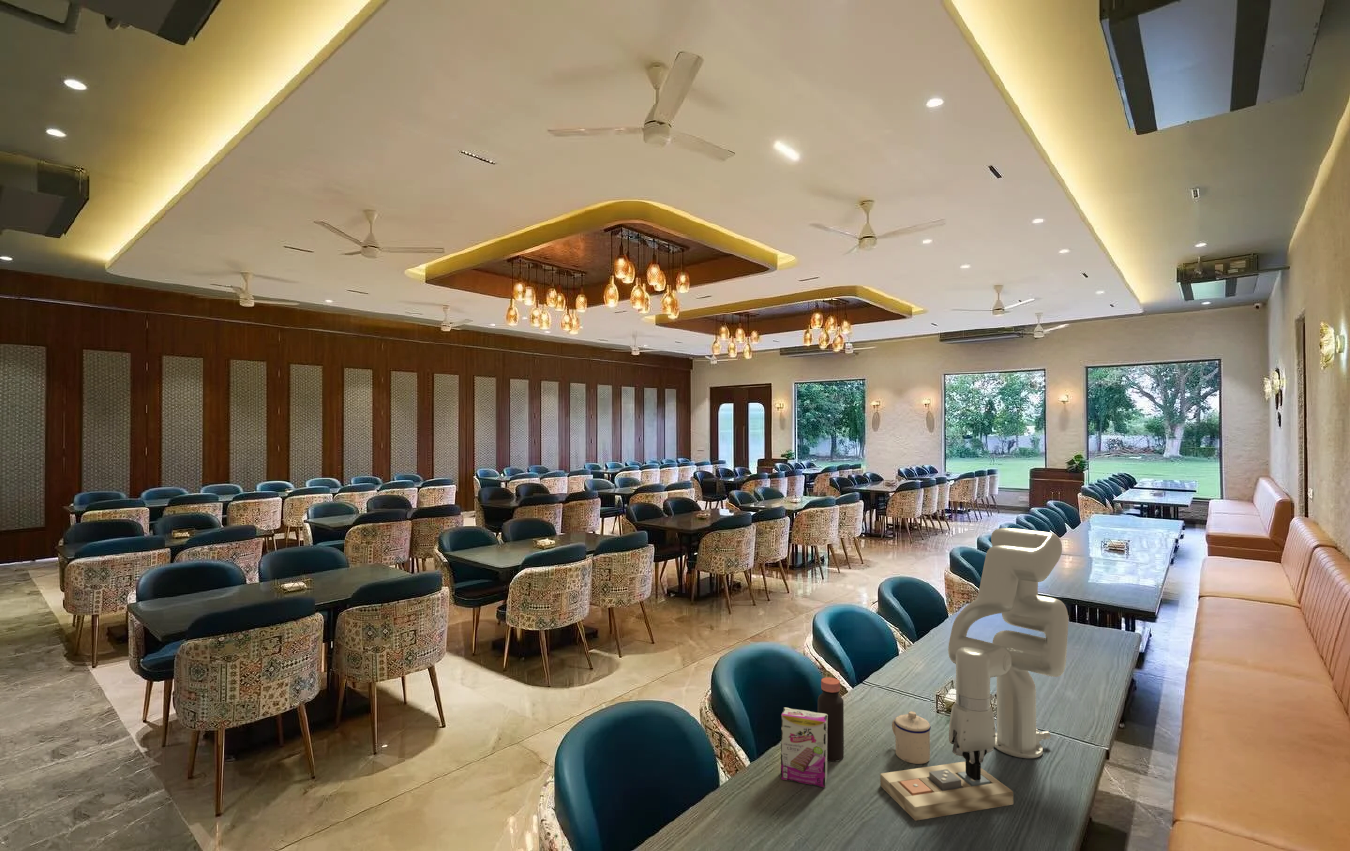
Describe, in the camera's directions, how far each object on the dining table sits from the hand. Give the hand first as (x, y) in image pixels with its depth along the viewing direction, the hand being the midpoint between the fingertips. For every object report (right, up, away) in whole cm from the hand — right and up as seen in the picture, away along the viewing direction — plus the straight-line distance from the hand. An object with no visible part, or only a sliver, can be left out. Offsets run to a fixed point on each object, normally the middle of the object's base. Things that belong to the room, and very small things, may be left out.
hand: (973, 776), depth 149 cm
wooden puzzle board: (-8, -3, -2) cm, 8 cm away
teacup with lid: (-9, -4, +18) cm, 20 cm away
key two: (0, -3, 0) cm, 3 cm away
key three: (-8, -2, -2) cm, 8 cm away
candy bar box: (-40, -4, +5) cm, 40 cm away
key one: (-15, -3, -4) cm, 16 cm away
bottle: (-30, -4, +17) cm, 35 cm away
